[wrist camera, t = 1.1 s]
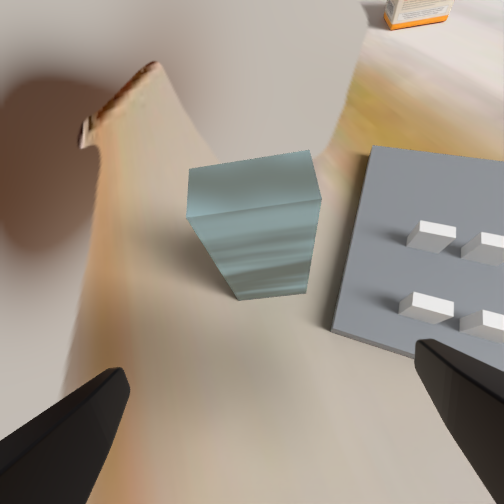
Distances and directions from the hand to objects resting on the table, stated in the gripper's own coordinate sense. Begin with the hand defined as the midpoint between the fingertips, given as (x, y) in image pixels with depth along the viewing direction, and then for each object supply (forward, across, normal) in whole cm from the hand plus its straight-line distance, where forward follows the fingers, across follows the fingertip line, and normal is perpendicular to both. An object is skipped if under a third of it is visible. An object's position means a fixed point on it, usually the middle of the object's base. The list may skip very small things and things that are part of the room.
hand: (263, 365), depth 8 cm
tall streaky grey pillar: (+15, 0, +4) cm, 16 cm away
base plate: (+16, -15, +3) cm, 22 cm away
